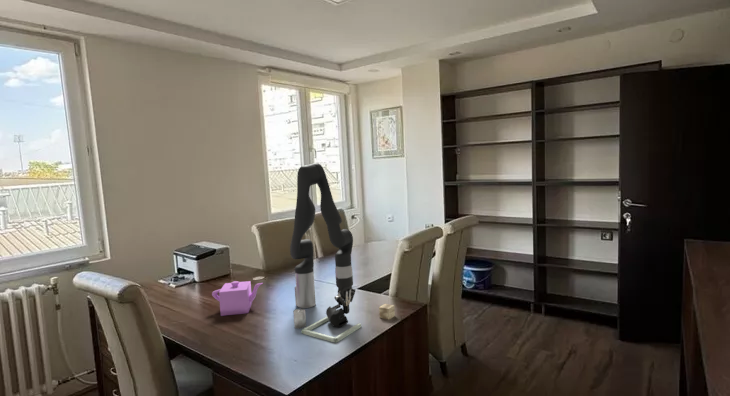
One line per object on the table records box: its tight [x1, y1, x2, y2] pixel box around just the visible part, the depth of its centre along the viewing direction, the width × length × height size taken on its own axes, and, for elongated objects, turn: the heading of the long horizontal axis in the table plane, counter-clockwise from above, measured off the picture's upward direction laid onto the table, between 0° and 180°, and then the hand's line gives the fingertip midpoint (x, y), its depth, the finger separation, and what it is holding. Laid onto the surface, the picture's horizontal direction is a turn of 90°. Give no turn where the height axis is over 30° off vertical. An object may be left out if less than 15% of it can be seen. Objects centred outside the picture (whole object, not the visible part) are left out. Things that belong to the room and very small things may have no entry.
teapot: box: [211, 280, 264, 317], centre depth 200 cm, size 15×25×14 cm, turn 99°
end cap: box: [325, 303, 349, 328], centre depth 174 cm, size 10×7×7 cm
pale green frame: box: [301, 316, 362, 344], centre depth 168 cm, size 18×17×2 cm
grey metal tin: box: [293, 308, 307, 330], centre depth 174 cm, size 5×5×7 cm
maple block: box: [378, 303, 396, 320], centre depth 180 cm, size 5×5×5 cm
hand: (346, 313), depth 177 cm, fingers closed
